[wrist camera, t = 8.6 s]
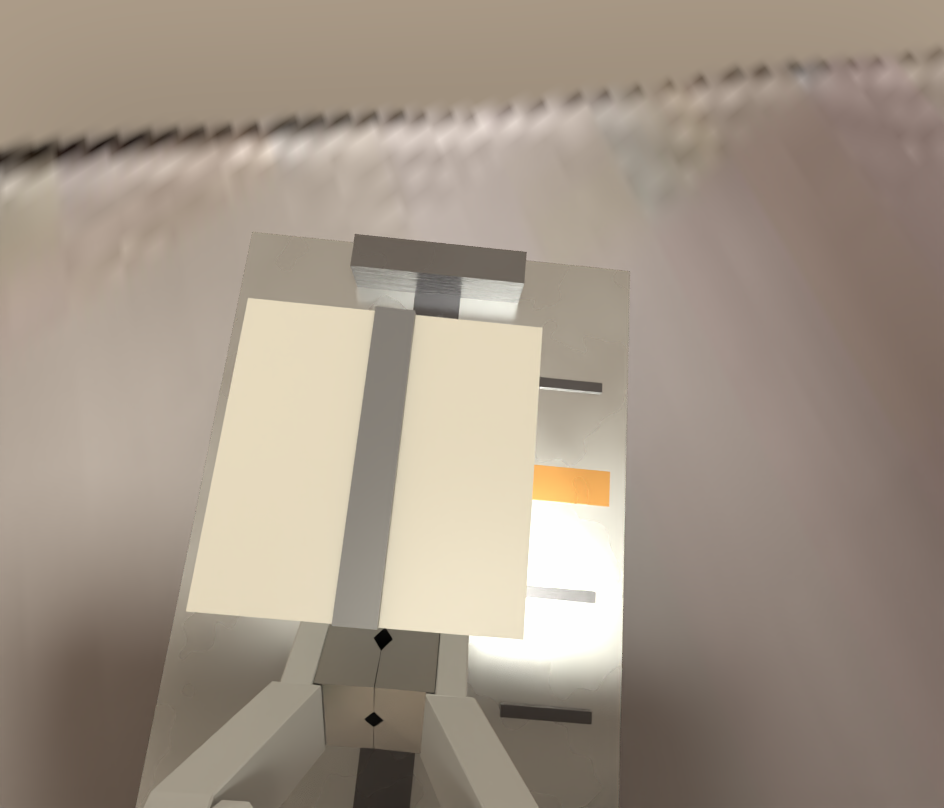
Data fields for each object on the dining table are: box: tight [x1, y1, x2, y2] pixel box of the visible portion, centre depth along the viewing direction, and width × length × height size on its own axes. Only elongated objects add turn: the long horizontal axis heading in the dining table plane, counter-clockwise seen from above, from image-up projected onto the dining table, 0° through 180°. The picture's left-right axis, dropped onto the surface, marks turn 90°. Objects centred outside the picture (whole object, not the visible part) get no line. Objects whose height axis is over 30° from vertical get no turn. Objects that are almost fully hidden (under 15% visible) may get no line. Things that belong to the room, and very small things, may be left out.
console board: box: [135, 232, 630, 808], centre depth 15 cm, size 26×12×3 cm, turn 175°
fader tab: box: [186, 298, 542, 640], centre depth 11 cm, size 5×4×9 cm
